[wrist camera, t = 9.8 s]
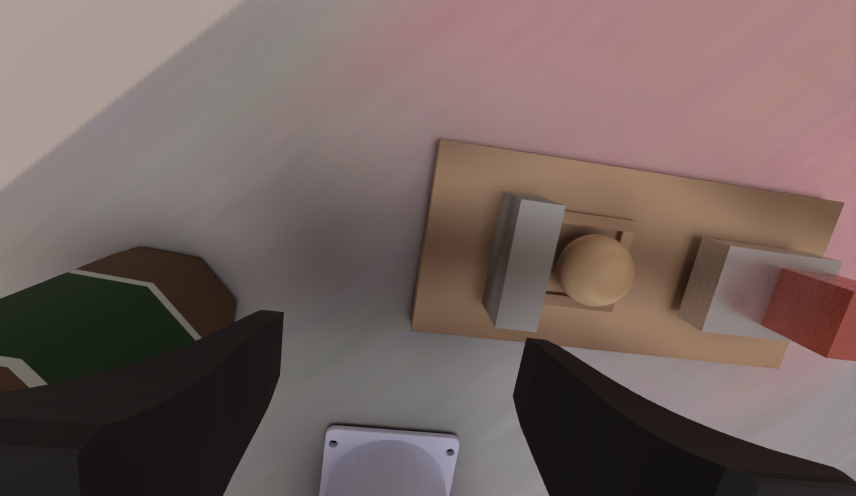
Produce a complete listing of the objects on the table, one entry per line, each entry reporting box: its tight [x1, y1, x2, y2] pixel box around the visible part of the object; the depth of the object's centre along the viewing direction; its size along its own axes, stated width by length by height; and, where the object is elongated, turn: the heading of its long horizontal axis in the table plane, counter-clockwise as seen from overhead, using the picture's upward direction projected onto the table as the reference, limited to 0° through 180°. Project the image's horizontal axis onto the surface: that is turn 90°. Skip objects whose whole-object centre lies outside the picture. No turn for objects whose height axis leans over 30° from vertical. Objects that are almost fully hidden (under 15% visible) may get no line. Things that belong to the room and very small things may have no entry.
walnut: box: [557, 234, 635, 307], centre depth 20 cm, size 4×4×4 cm
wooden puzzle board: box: [411, 139, 844, 369], centre depth 21 cm, size 10×22×4 cm, turn 81°
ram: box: [677, 238, 856, 361], centre depth 19 cm, size 4×6×5 cm
